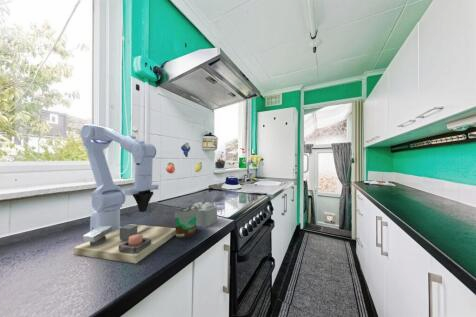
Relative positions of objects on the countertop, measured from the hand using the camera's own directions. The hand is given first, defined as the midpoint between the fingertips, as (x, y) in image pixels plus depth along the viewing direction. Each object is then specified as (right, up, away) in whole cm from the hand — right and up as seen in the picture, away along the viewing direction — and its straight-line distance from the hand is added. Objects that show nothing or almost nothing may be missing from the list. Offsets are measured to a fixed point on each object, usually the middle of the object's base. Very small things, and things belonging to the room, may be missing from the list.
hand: (142, 211), depth 62 cm
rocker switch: (-9, -4, -9) cm, 13 cm away
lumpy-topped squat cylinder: (+19, -10, +16) cm, 27 cm away
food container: (+17, -10, +2) cm, 20 cm away
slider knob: (-1, -7, -7) cm, 10 cm away
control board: (-1, -9, -5) cm, 11 cm away
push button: (+5, -7, -12) cm, 15 cm away
